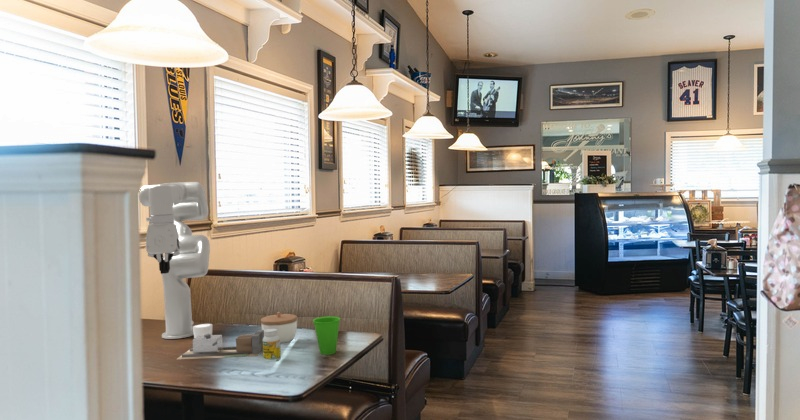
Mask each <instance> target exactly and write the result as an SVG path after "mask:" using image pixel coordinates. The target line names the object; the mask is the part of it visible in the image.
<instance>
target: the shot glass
mask: <svg viewBox="0 0 800 420" xmlns="http://www.w3.org/2000/svg"><path fill="white" fill-rule="evenodd" d="M192 329H193V333H194V335H193V339H194V338H196V337H197V336H204V335H205V334H211V335H213V323H199V324H195V325H192Z"/></svg>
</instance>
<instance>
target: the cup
mask: <svg viewBox="0 0 800 420" xmlns="http://www.w3.org/2000/svg"><path fill="white" fill-rule="evenodd" d="M340 321H341V317H339V316H333V315H332V316H322V317H321V316H320V317H316V318H314V319H312V323H313V325H314V329H315V333H316V335H315V336H316V339H317V344H318V350H319V353H320V354H321V355H324V356H328V355H333V354H335V353H336V352H337V345H338V336H339V327H340Z"/></svg>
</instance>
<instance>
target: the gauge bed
mask: <svg viewBox="0 0 800 420" xmlns="http://www.w3.org/2000/svg"><path fill="white" fill-rule="evenodd" d="M263 338H264V330H262V329H258V330H256V331H255V333H253V335H252V353H250V351H246V352H237V351H236V346H223V350H222V351H221V352H219V353H197V354H193V347H192V348H191V347H190V348H189V349H188V350H187V351H186V352H184V353H182V354H181V355H179V357H177V358H176V360H196V359H197V360H198V359H200V360H201V359H218V358H219V359H220V358H221V359H225V358H244V357H246V358H247V357H250V358H251V357H258V356H259V355H260V354H261V353H262V352H263Z"/></svg>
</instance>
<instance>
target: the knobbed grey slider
mask: <svg viewBox="0 0 800 420" xmlns="http://www.w3.org/2000/svg"><path fill="white" fill-rule="evenodd" d="M223 347H224V345H223V334H212V335H211V334H205V335H204V336H197V337H196V338H194V337H193V339H192V348H193V354H197V353H219V352H221V351H222V350H223Z"/></svg>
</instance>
